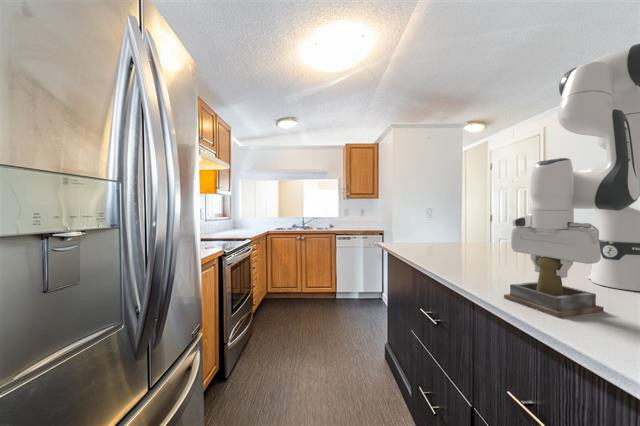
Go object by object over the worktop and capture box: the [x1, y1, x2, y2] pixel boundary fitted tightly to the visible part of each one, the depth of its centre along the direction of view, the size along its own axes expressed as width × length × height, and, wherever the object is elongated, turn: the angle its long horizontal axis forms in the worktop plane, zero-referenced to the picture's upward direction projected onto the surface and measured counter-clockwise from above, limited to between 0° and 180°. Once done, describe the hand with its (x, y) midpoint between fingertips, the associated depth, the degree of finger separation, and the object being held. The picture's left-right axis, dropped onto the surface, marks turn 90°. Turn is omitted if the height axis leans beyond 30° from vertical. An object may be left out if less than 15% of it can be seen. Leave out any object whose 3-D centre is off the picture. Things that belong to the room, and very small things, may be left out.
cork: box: [536, 256, 564, 296], centre depth 75 cm, size 6×6×11 cm
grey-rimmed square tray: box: [503, 281, 604, 318], centre depth 75 cm, size 14×14×4 cm
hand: (550, 274), depth 75 cm, fingers closed on cork, 4 cm apart
